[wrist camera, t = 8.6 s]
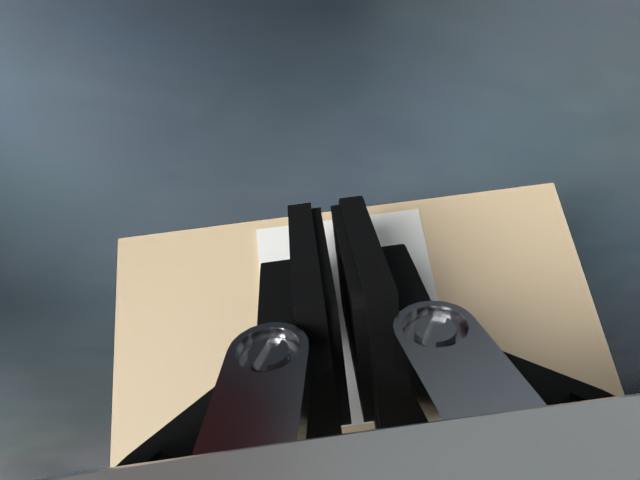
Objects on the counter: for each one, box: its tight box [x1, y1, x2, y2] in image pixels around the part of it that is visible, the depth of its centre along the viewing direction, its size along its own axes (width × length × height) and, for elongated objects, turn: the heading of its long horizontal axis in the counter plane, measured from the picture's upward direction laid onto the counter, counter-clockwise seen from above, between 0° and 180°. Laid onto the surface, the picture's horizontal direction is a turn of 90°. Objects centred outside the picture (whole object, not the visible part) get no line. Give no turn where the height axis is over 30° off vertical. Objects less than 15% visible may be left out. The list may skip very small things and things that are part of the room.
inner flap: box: [110, 183, 624, 467], centre depth 12 cm, size 12×12×1 cm
